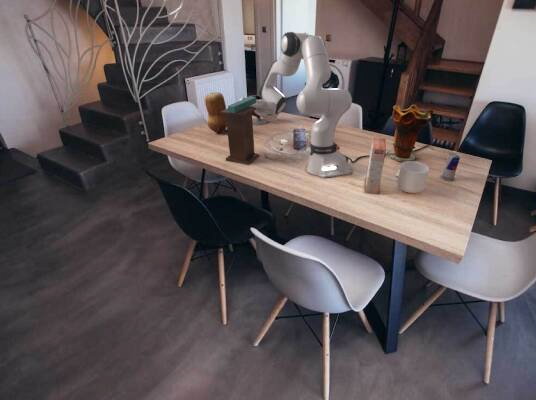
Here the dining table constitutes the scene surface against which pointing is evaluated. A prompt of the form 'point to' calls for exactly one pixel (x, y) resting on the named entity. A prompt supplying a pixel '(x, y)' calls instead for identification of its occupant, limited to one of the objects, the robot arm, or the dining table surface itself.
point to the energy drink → (450, 166)
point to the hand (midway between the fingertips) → (250, 100)
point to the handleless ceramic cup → (412, 176)
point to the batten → (241, 104)
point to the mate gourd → (258, 119)
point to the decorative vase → (407, 131)
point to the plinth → (240, 135)
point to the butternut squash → (216, 112)
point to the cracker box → (375, 165)
